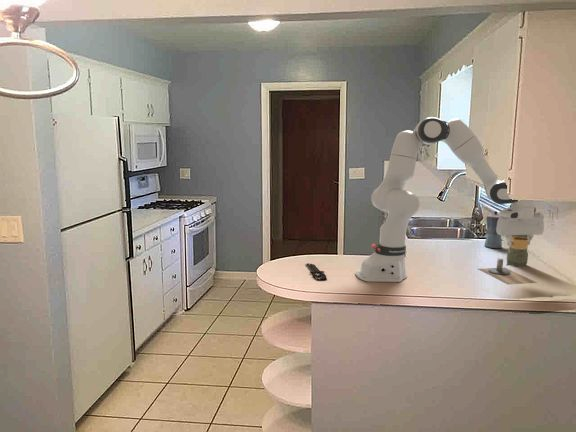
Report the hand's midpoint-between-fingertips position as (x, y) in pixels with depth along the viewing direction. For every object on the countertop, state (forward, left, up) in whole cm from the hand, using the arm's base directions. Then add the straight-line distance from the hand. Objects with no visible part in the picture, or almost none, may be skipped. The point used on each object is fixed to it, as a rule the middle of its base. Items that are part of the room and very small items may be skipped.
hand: (518, 244), depth 203 cm
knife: (-81, +29, -18) cm, 88 cm away
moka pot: (+29, +58, -17) cm, 67 cm away
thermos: (+17, +22, -17) cm, 33 cm away
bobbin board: (0, +6, -17) cm, 18 cm away
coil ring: (0, 0, -1) cm, 1 cm away
